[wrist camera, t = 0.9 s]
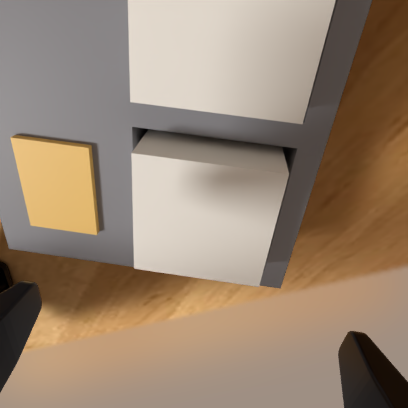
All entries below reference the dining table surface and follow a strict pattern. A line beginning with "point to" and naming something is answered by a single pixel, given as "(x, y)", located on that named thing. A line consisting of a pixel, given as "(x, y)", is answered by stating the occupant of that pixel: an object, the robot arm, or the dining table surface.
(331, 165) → the dining table surface
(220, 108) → the key middle
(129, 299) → the dining table surface
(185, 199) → the key
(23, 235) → the key panel
